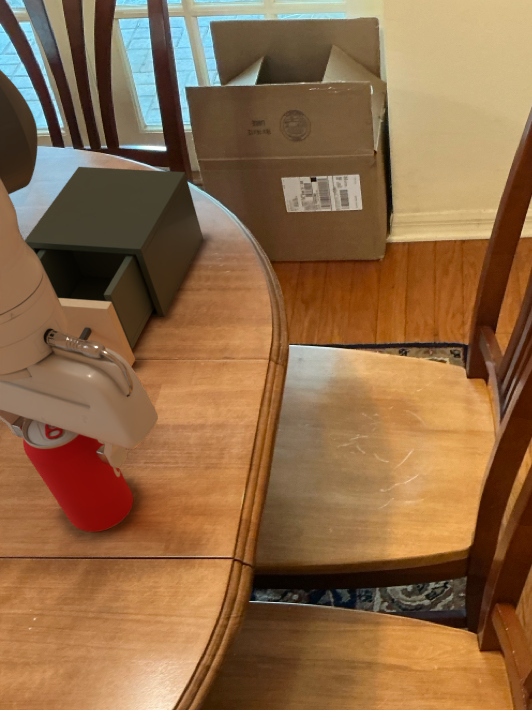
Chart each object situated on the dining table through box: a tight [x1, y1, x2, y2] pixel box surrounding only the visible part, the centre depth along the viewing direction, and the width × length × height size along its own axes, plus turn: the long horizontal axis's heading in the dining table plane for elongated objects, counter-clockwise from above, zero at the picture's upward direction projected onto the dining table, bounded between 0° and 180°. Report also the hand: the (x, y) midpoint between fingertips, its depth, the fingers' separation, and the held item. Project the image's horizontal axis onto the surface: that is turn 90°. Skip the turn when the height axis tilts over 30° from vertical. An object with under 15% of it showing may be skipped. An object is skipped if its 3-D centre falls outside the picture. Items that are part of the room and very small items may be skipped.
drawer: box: [37, 249, 155, 368], centre depth 85 cm, size 19×12×8 cm, turn 172°
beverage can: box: [22, 418, 134, 533], centre depth 70 cm, size 6×6×12 cm
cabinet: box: [24, 166, 204, 317], centre depth 92 cm, size 16×14×10 cm
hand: (71, 446), depth 67 cm, fingers open, 8 cm apart
